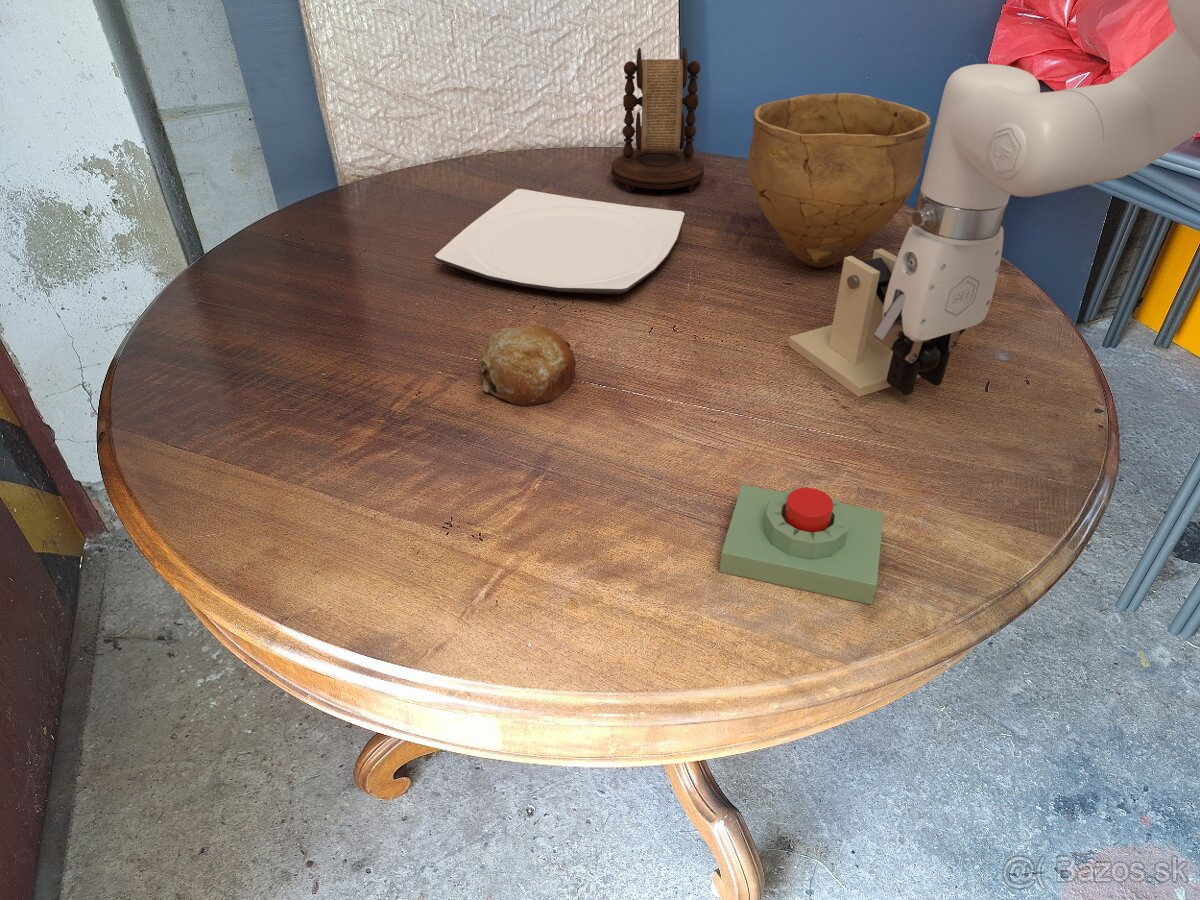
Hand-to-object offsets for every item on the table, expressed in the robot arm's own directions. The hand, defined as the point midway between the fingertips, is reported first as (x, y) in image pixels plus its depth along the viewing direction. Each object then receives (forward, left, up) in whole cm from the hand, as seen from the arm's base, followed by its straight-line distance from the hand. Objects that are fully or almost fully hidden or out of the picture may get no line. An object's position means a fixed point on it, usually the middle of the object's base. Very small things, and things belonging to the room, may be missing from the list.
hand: (913, 382), depth 92 cm
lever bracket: (+6, -6, -2) cm, 8 cm away
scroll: (+41, -53, -2) cm, 67 cm away
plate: (+46, -23, -2) cm, 51 cm away
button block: (+8, +27, -2) cm, 28 cm away
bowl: (+13, -29, -2) cm, 32 cm away
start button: (+8, +27, +2) cm, 28 cm away
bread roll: (+39, +9, -2) cm, 40 cm away
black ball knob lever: (+3, -3, +4) cm, 6 cm away
